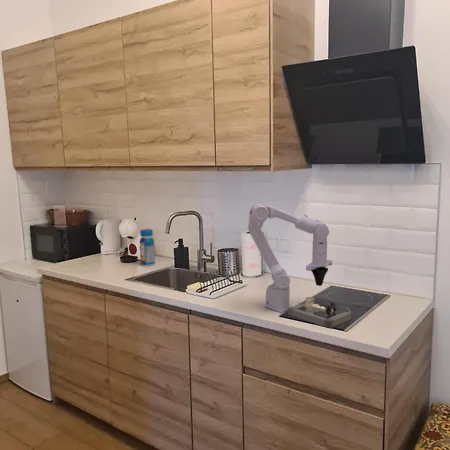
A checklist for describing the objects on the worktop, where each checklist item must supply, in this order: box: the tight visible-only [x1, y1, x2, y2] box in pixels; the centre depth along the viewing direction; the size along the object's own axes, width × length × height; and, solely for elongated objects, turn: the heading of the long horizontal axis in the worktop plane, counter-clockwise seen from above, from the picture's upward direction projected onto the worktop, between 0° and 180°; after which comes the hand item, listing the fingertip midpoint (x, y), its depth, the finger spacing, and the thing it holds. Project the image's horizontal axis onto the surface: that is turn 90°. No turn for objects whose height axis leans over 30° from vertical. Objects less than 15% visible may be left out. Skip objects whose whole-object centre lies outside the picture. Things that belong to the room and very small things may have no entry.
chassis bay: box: [287, 302, 352, 329], centre depth 181 cm, size 20×13×2 cm, turn 41°
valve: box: [304, 296, 338, 319], centre depth 182 cm, size 7×7×12 cm
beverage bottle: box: [139, 228, 156, 267], centre depth 268 cm, size 8×8×20 cm
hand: (319, 285), depth 191 cm, fingers closed
